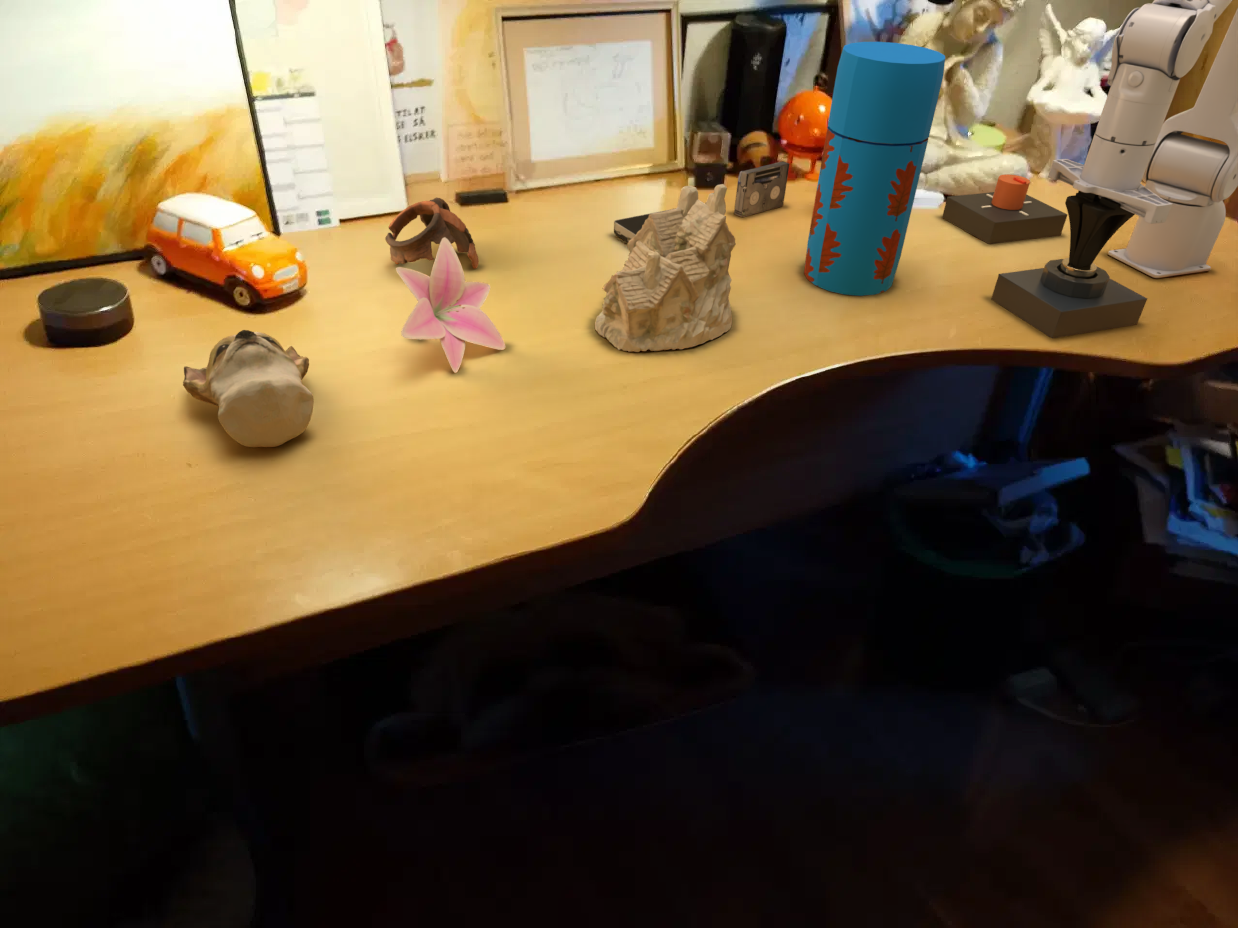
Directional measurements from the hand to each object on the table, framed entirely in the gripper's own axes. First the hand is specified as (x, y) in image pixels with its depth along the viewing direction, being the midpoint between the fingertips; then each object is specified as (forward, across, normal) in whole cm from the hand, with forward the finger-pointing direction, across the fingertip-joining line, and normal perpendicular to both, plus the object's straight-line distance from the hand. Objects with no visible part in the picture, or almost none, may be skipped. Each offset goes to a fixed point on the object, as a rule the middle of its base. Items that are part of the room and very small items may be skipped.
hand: (1079, 263), depth 100 cm
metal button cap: (+2, 0, 0) cm, 2 cm away
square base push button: (+6, 0, 0) cm, 6 cm away
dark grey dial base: (+6, -24, +11) cm, 27 cm away
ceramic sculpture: (+6, -3, -86) cm, 86 cm away
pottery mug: (+6, -32, -65) cm, 73 cm away
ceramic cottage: (+6, -12, -45) cm, 47 cm away
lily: (+6, -10, -68) cm, 69 cm away
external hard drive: (+6, -32, -36) cm, 49 cm away
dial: (+3, -24, +11) cm, 27 cm away
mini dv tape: (+6, -38, -19) cm, 43 cm away
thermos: (+6, -15, -19) cm, 25 cm away
